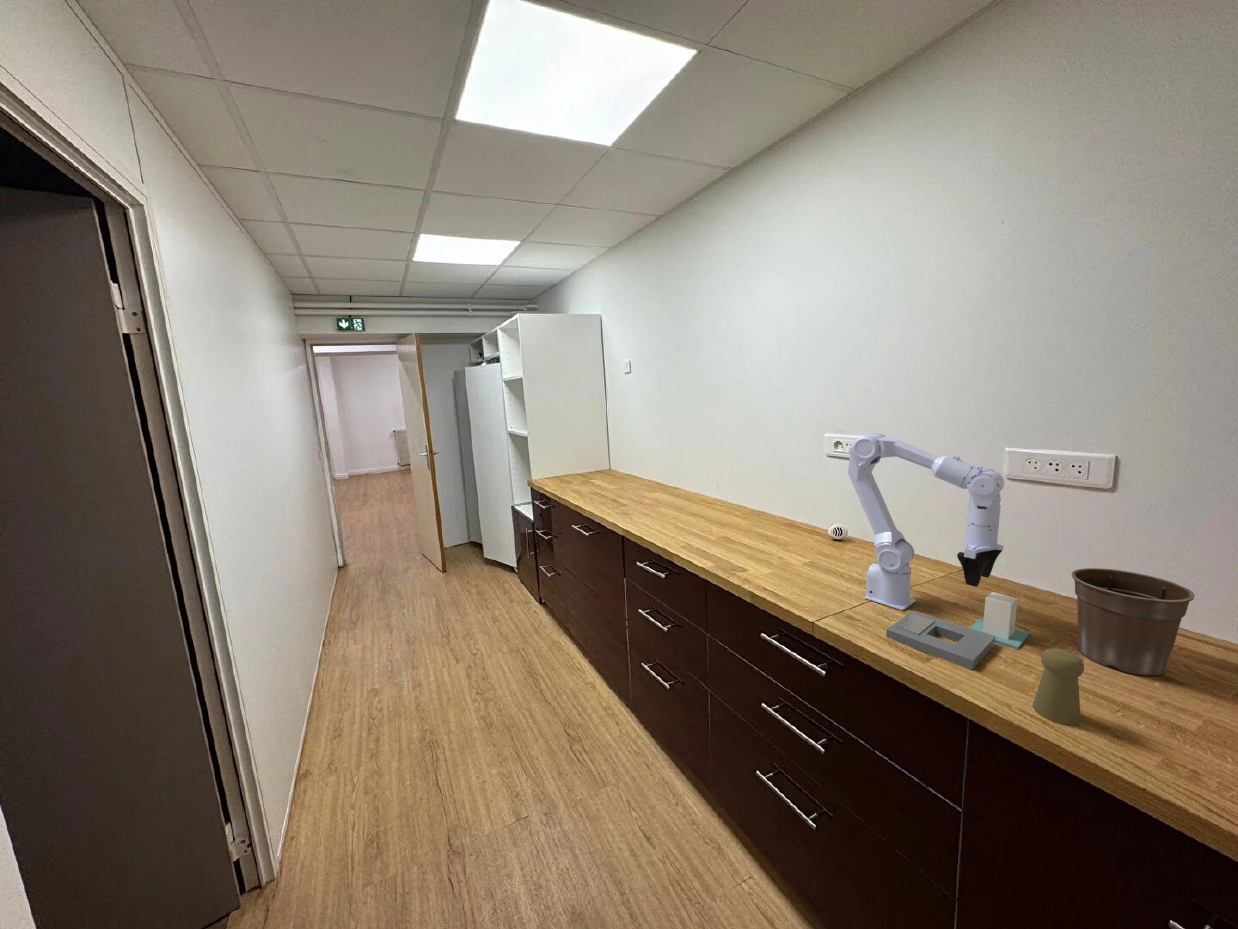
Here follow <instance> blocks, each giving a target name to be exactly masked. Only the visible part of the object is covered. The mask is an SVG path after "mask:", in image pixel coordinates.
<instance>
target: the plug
mask: <svg viewBox="0 0 1238 929" xmlns="http://www.w3.org/2000/svg"><path fill="white" fill-rule="evenodd" d="M1018 600H1019V599H1018V598H1017V597H1013V596H1010V595H1006V594H1003V593H999V592H995V591H992V592H990V594H988V595H987V596H986V597H985V599H984V612H983V619H984V621H983V632H987V633H990V634H993V635H996V636H999V637H1002V638H1005V639H1008V638H1009V637H1010V636H1011V635H1012V634H1013V633H1014V630H1015V629H1016V617H1017V608H1018Z"/></svg>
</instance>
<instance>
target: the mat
mask: <svg viewBox="0 0 1238 929" xmlns="http://www.w3.org/2000/svg"><path fill="white" fill-rule="evenodd" d="M983 621H984V618H979V619H978V620H977V621H976V622H974V624H973V625H971V626H970V627H969V628H971V629H974V630H977V631H980V632H983ZM983 633H987V632H983ZM987 634H990V633H987ZM990 635H993V634H990ZM993 636H996V635H993ZM1029 636H1030V632H1029V631H1024V630H1021V629H1018V628H1015V630H1014V633H1013V634H1012V635H1011V636H1010V637H1009V638H1008V639H1005V638H1002V637H999V636H996V638H995V643H997V644H1000V645H1004V646H1006V647H1009V648H1012V649H1016V650H1019V648H1020V647H1021V646H1022V645H1023V644H1024V642H1025V641H1026V640H1027V639H1028V638H1029Z"/></svg>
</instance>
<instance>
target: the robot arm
mask: <svg viewBox="0 0 1238 929" xmlns="http://www.w3.org/2000/svg"><path fill="white" fill-rule="evenodd" d="M848 453H849V459H848V465H847V466H848V468H847V473H848V476H849V478H850V480H851V483H852V486H853V488H854V490H855V492H856V495H857V497H858V499H859V503H860V504H861V507H862V509H863V511H864V513H865V515H866V517H867V520H868V522H869V523H868V524H869V525H870V526H871V527H870V528H871V529H872V532H873V534H874V537H875V538H874V547H875V550H876V562H877V563H872V564H870V565H869V568H868V570H867V573H866V574H867V575H866V587H865V588H866V589H865V590H866V591H865V596H864V599H866V600H869V601H872V602H875V603H878V604H882V605H885V606H887V607H890V608H893V609H897V610H899V611H905V610H906V609H907V608H908V607H910V606H911V605H912V604H914V603H915V602H916V600H917V599H915V598H912V597H910V596H911V595H910V594H911V593H910V592H911V579H912V567H911V566H910V562H911V561H912V560H913V559H914V557H915V549H914V547H913V546H912V544H911V543H910V542H908V541H907V540H906V538H905V536H904V534H903V533H902V532H901V531H900V530H899V529H898V528H897V527H896V525H895V522H894V520H893V518H892V516H891V514H890V511H889V509H888V506H887V504H886V502H885V500H884V497H883V495H882V492H881V490H880V489H879V485H878V484H877V482H876V480H875V478H874V477H875V476H874V475H873V470H874V468H875V467H876V465H877V463H878V462H879V460H881V459H882V458H883V459H884V458H893V457H895V458H896V457H897V458H898V459H899V458H900V459H902V460H904V461H908V462H910V463H913V464H915V465H919V466H921V467H923V468H927V469H929V470H931V472H932V474H933V476H934V477H935V478H937V479H940V480H942V481H944V482H946V483H948V484H950V485H953V486H956V487H958V488H960V489H963V490H967V491H968V493H969V502H968V504H967V505H968V506H967V507H968V508H967V518H966V520H967V521H966V529H965V530H966V531H965V539H964V541H963V543H964V547H965V548H964V549H963V550H964V551H959V552H957V554H956V557H957V560H958V561H959V563H960V565H961V568H962V570H963V571H962V572H963V575H964V581H965V584H966V585H967V586H972V587H975V588H977V587H978V586H979V585H980V583H981V578H983V577H984V578H987V579H989V578H990V576H991V574H992V570H993V568H994V565H995V563H996V561H997V558H999V555H1001V554H1002V552H1003V549H1004V544H999V543H998V539H999V536H998V535H999V528H1000V526H999V525H1000V519H1001V516H1000V515H1001V508H1002V507H1001V506H1002V505H1001V500H1002V498H1001V491H1002V490H1003V489H1004V487H1005V486H1004V485H1005V479H1004V478H1003V476H1002V474H1001V473H999V472H997V471H995V470H994V469H992V468H991V469H990V468H984V466H983V465H981V464H978V465H974V464H971V463H969V462H967V461H964V460H961V457H960V456H959V455H957V454H953V455H952V456H951V455H948V454H946V455H943V456H937V455H934V454H932V453H930V452H928V451H925V450H923V449H921V448H918V447H916V446H914V445H911V444H909V443H908V442H905V441H902V440H901V439H898V438H896V437H893V436H888V435H885V434H883V433H881V432H874V433H870V434H868V435H862V436H859V437H857V438H856V439H855V440H854V441H853V443H851V445H850V447H849V448H848ZM983 468H984V469H983Z"/></svg>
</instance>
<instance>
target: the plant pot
mask: <svg viewBox="0 0 1238 929" xmlns="http://www.w3.org/2000/svg"><path fill="white" fill-rule="evenodd" d="M1071 577H1072V579H1073V580H1074V594H1075V595H1076V598H1077V599H1076V600H1077V604H1076V605H1077V637H1078V638H1077V640H1078V642H1077V647H1078V649H1077V650H1078V651H1079V652H1080V653H1081V654H1082V655H1084V656H1085V657H1086V658H1088V659H1090V660H1091V661H1093V662H1095V663H1098V664H1099V665H1101V666H1104V667H1107V666H1110V667H1111V666H1112V667H1114V668H1116V669H1117V670H1119V672H1124V673H1129V674H1132V675H1139V676H1161V675H1164V674H1165V673H1166V671H1167V670H1168V669H1169V668H1168V667H1169V663H1170V659H1171V657H1172V653H1173V649H1174V646H1175V642H1176V639H1177V635H1178V633H1179V628H1180V625H1181V621H1182V618H1184V617H1185V616H1186V614H1187V610H1188V608H1189V605H1190V602H1192V601H1193V600H1194V599H1195V597H1196V596H1195V593H1194V592H1193V591H1192V590H1191V589H1189V588H1188V587H1185V586H1183V585H1180V584H1178V583H1176V582H1174V581H1170V580H1168V579H1164V578H1160V577H1156V576H1151V575H1147V574H1142V573H1139V572H1132V571H1127V570H1126V571H1125V570H1120V569H1112V568H1097V567H1095V568H1093V567H1091V568H1090V567H1089V568H1080V569H1075V570H1073V571H1072V572H1071Z"/></svg>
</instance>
